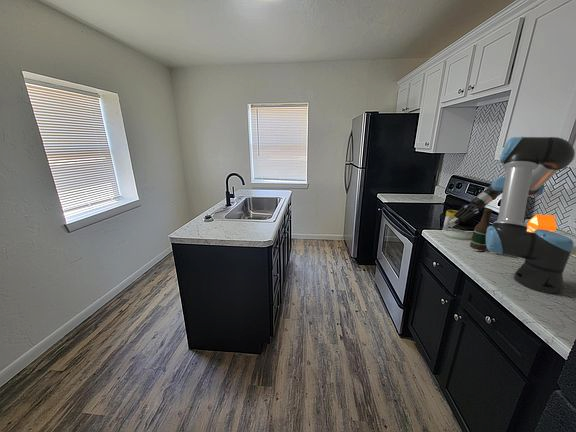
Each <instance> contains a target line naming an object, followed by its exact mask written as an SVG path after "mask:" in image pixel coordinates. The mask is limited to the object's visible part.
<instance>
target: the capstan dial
mask: <svg viewBox="0 0 576 432" xmlns="http://www.w3.org/2000/svg"><path fill="white" fill-rule="evenodd" d="M450 218H451V217H449V216H446V215H445V218H444V222H443V227H442V229H441V234H442V235H443V236H445V237H447V238H451V239H455V240H458V241H460V240H461V241H469V240H470V241H471V239H472V235H473V233H470V232H468V231H466V230H462V229H459V228H458V229H457V228H453V227H452V228H451V227H450V228H449V223H450Z"/></svg>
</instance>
